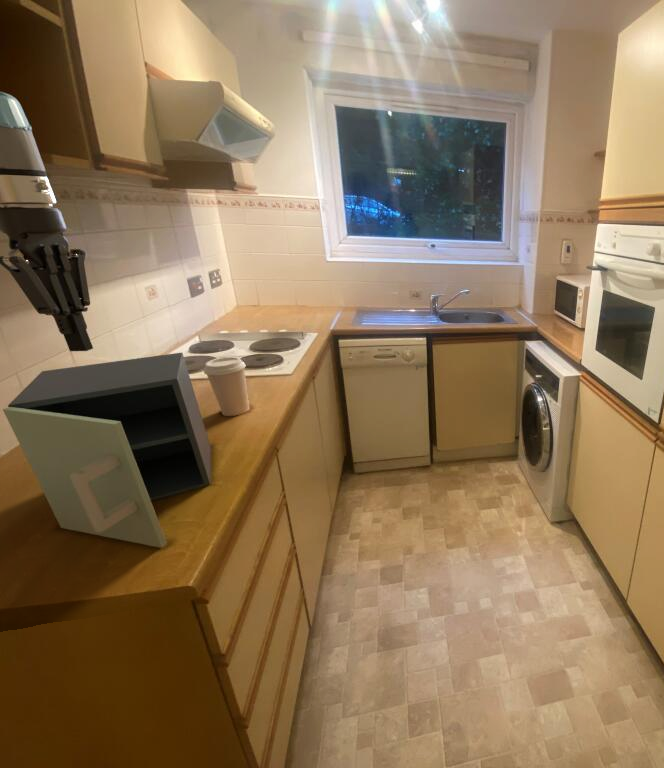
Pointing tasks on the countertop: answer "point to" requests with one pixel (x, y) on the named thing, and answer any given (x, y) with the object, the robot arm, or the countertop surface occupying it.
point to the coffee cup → (229, 384)
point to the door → (87, 474)
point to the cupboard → (136, 414)
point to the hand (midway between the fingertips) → (81, 349)
